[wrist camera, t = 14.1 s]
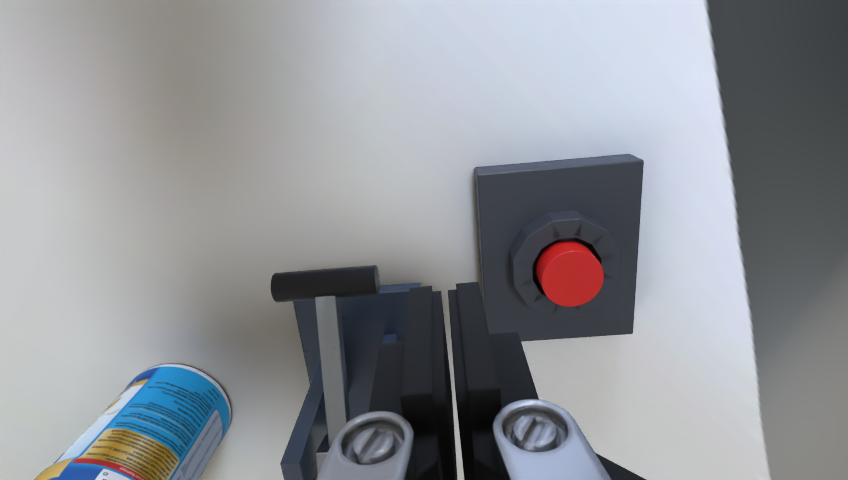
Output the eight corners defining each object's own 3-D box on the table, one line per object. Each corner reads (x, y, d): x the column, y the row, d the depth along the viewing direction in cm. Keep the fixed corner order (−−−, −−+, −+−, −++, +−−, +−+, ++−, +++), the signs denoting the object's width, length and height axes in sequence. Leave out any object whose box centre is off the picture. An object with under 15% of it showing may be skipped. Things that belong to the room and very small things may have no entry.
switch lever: (282, 270, 27) (266, 275, 25) (379, 263, 27) (372, 267, 24) (301, 482, 28) (288, 507, 25) (397, 477, 27) (392, 502, 25)
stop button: (535, 242, 29) (541, 253, 28) (595, 238, 29) (605, 248, 28) (536, 295, 31) (542, 309, 29) (593, 291, 31) (603, 304, 29)
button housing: (474, 167, 32) (479, 181, 28) (630, 153, 31) (657, 166, 27) (483, 328, 36) (489, 359, 32) (621, 318, 35) (643, 348, 31)
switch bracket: (296, 291, 35) (224, 411, 23) (421, 282, 34) (414, 399, 22) (321, 415, 39) (271, 574, 27) (434, 408, 38) (434, 566, 26)
